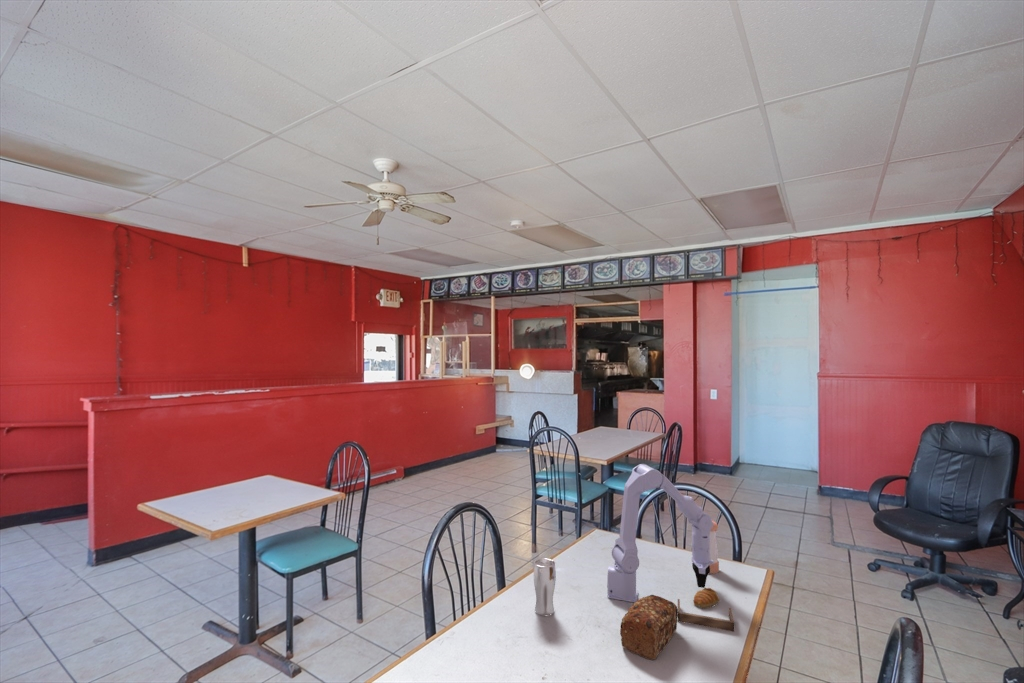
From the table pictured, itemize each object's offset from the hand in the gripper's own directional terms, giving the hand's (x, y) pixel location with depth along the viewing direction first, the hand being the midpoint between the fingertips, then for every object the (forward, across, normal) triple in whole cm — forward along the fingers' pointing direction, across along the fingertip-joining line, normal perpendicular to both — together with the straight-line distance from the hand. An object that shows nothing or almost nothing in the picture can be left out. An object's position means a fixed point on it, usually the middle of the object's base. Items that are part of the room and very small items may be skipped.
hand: (701, 586), depth 161 cm
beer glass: (+1, -32, +48) cm, 57 cm away
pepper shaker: (+1, +19, -4) cm, 19 cm away
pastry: (+2, -8, -1) cm, 9 cm away
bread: (+2, -36, +15) cm, 39 cm away
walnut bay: (+1, -19, 0) cm, 19 cm away
